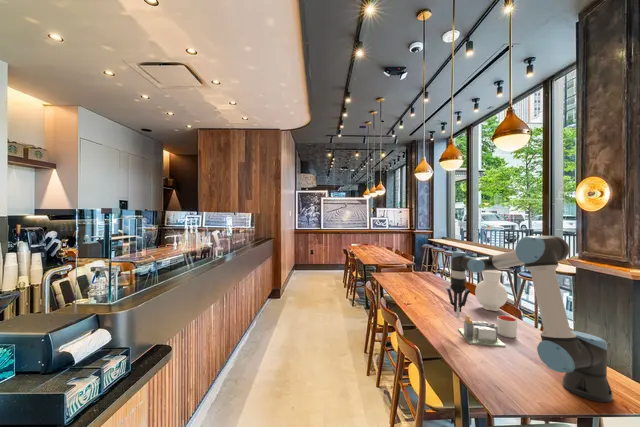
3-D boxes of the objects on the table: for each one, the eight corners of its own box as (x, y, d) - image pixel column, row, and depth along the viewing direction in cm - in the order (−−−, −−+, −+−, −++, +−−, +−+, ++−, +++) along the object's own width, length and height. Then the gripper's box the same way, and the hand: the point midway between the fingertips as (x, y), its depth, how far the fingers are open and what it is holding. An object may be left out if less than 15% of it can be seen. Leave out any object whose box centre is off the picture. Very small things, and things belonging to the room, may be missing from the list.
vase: (512, 311, 217) (513, 272, 217) (492, 315, 209) (493, 273, 209) (489, 304, 235) (490, 267, 235) (470, 307, 227) (471, 268, 227)
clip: (472, 323, 168) (472, 317, 168) (467, 323, 168) (467, 316, 168) (469, 321, 172) (469, 314, 172) (465, 320, 173) (465, 314, 173)
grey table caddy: (505, 347, 158) (505, 331, 158) (469, 344, 161) (469, 328, 161) (490, 332, 178) (490, 318, 178) (458, 329, 181) (458, 316, 181)
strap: (495, 328, 167) (495, 327, 167) (474, 325, 169) (474, 323, 169) (493, 327, 169) (493, 325, 169) (472, 323, 171) (473, 321, 171)
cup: (519, 339, 168) (520, 322, 168) (500, 337, 170) (501, 320, 170) (512, 332, 178) (512, 316, 178) (494, 330, 180) (494, 314, 180)
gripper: (467, 276, 174) (466, 315, 174) (445, 275, 176) (444, 314, 176) (472, 279, 167) (471, 320, 167) (448, 278, 169) (447, 318, 169)
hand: (457, 317), depth 172 cm, fingers closed
